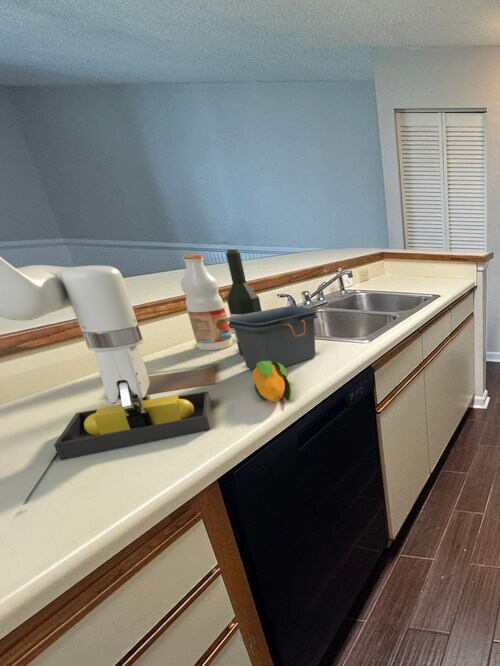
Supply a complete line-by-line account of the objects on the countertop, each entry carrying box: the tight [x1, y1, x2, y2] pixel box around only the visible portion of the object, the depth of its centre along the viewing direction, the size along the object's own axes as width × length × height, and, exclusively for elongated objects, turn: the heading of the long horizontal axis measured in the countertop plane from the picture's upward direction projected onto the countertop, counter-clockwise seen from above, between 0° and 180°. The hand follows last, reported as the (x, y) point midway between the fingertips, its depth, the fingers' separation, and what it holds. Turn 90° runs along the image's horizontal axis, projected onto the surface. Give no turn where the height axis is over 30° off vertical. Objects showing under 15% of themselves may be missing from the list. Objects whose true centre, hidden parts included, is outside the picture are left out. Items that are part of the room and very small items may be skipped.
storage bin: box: [226, 305, 319, 371], centre depth 117 cm, size 21×16×14 cm
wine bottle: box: [225, 248, 263, 357], centre depth 123 cm, size 8×8×30 cm
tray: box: [53, 390, 212, 461], centre depth 82 cm, size 21×14×4 cm
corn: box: [252, 361, 292, 403], centre depth 98 cm, size 7×8×20 cm
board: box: [119, 366, 216, 400], centre depth 105 cm, size 20×14×1 cm
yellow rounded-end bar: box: [84, 394, 194, 436], centre depth 82 cm, size 16×4×5 cm, turn 123°
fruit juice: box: [180, 253, 234, 351], centre depth 128 cm, size 9×9×28 cm
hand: (145, 426), depth 82 cm, fingers closed on yellow rounded-end bar, 4 cm apart
